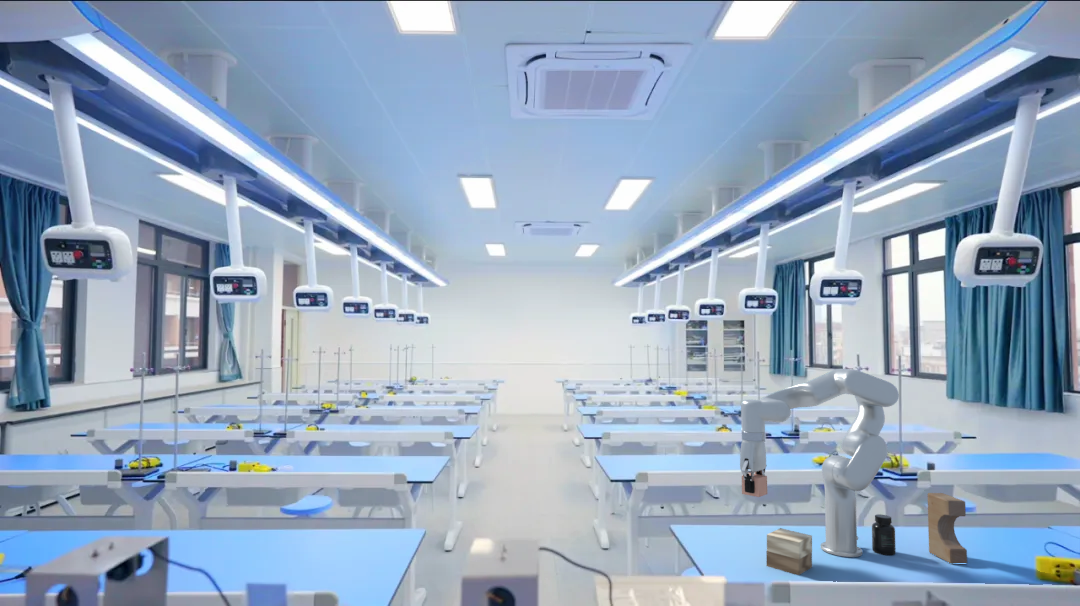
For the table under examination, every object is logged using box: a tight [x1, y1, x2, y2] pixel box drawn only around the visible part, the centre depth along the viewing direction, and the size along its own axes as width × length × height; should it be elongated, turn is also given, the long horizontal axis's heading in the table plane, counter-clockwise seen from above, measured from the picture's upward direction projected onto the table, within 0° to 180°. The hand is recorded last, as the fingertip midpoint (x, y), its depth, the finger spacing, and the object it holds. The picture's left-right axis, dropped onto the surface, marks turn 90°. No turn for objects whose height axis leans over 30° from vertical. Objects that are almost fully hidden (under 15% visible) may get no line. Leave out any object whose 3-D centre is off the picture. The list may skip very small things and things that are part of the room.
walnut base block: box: [766, 550, 813, 576], centre depth 187 cm, size 10×10×5 cm
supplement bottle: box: [871, 513, 897, 557], centre depth 202 cm, size 7×7×12 cm
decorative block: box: [927, 492, 968, 564], centre depth 198 cm, size 11×6×20 cm, turn 0°
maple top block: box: [766, 527, 813, 559], centre depth 187 cm, size 10×10×5 cm
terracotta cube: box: [741, 473, 768, 498], centre depth 201 cm, size 6×6×6 cm
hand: (754, 490), depth 201 cm, fingers closed on terracotta cube, 6 cm apart
